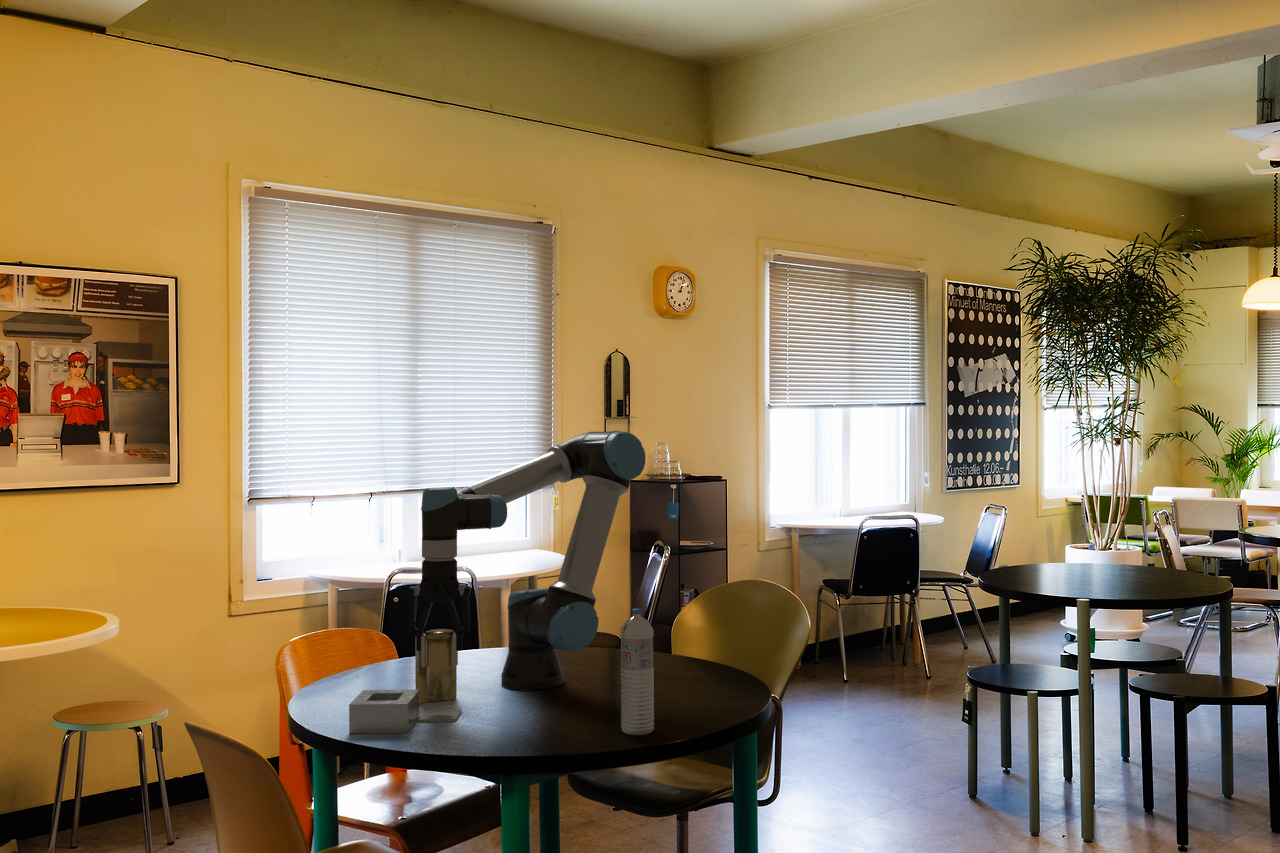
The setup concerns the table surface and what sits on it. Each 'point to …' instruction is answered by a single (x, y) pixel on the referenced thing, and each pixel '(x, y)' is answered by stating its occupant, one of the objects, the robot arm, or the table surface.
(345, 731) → the table surface
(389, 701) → the housing
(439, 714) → the mat
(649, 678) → the water bottle
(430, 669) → the gold metallic cylinder
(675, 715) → the table surface
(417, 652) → the candy box
